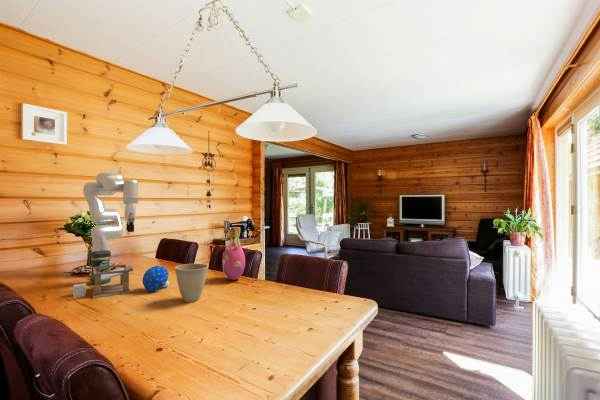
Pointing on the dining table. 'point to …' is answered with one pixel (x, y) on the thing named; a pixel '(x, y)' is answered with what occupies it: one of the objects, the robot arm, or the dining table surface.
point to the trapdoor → (108, 276)
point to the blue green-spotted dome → (155, 278)
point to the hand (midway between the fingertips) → (130, 231)
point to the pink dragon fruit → (233, 259)
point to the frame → (109, 289)
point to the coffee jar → (100, 263)
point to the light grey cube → (79, 290)
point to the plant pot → (191, 280)
